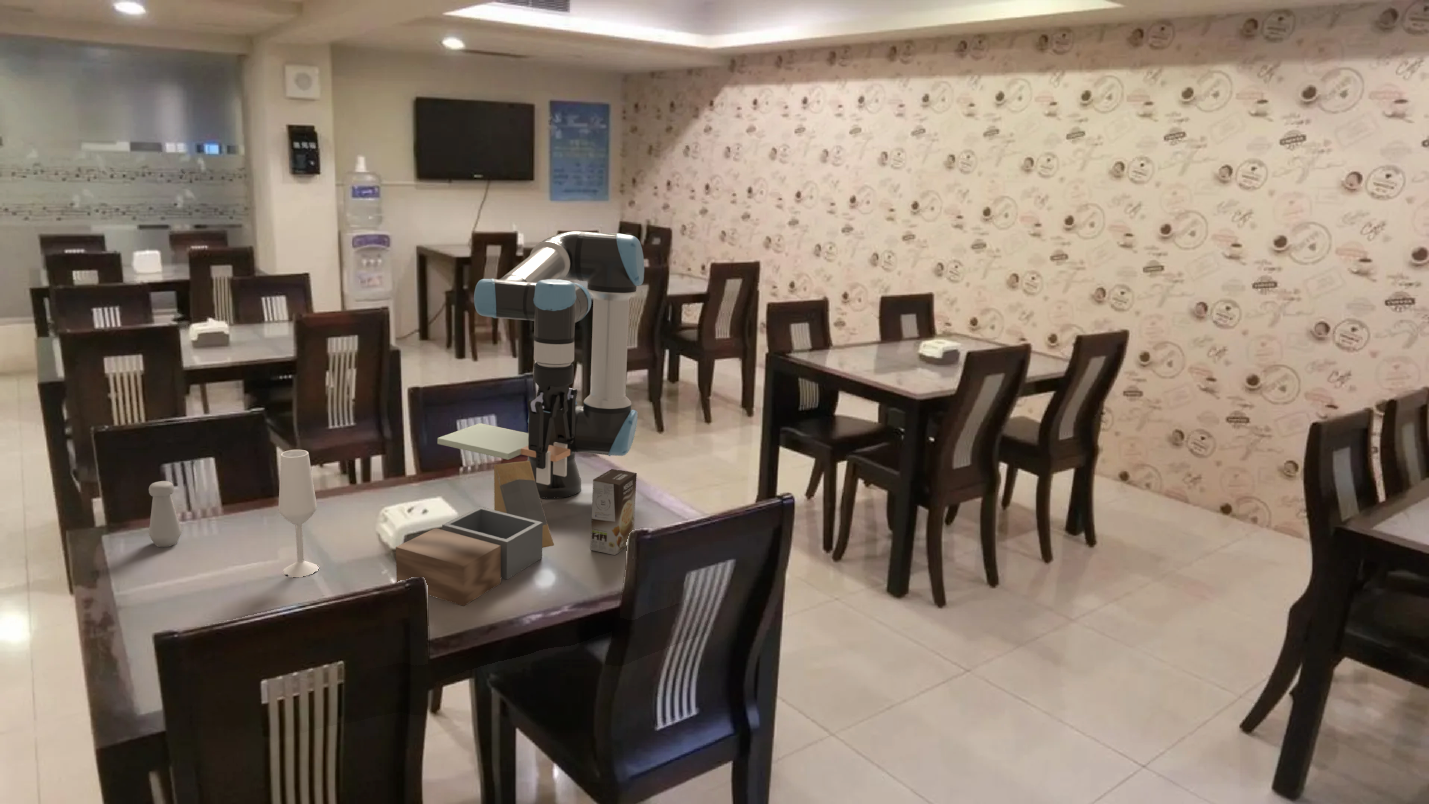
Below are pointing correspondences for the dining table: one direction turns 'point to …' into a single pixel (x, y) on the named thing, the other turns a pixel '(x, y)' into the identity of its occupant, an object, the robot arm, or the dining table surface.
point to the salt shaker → (163, 515)
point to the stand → (450, 565)
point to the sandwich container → (519, 495)
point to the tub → (503, 536)
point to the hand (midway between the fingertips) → (551, 478)
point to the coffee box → (612, 510)
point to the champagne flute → (297, 503)
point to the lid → (496, 442)
